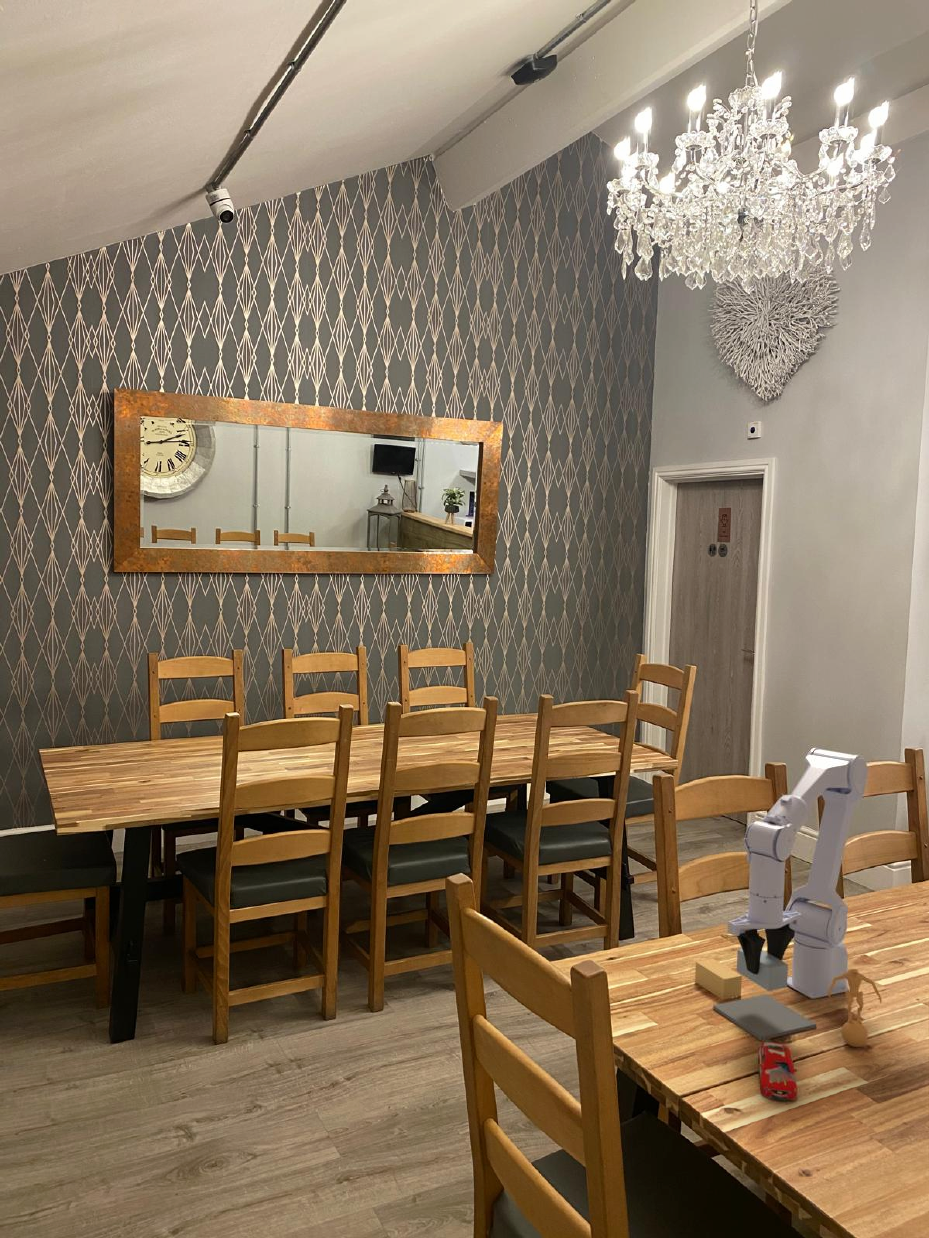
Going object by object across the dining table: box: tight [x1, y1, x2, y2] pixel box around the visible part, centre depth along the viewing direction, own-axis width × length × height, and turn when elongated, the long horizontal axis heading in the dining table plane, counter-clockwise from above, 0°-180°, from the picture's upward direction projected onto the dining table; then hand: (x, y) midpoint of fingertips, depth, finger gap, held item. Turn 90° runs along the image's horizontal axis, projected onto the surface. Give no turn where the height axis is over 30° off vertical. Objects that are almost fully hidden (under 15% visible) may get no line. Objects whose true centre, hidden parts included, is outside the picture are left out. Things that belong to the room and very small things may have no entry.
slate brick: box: [736, 948, 789, 992], centre depth 163 cm, size 4×8×4 cm, turn 24°
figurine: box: [827, 968, 882, 1048], centre depth 155 cm, size 8×6×12 cm
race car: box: [757, 1042, 798, 1102], centre depth 144 cm, size 13×5×4 cm, turn 164°
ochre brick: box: [694, 958, 743, 1001], centre depth 174 cm, size 4×8×4 cm, turn 24°
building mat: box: [712, 993, 817, 1041], centre depth 163 cm, size 12×12×1 cm
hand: (763, 969), depth 163 cm, fingers closed on slate brick, 4 cm apart
